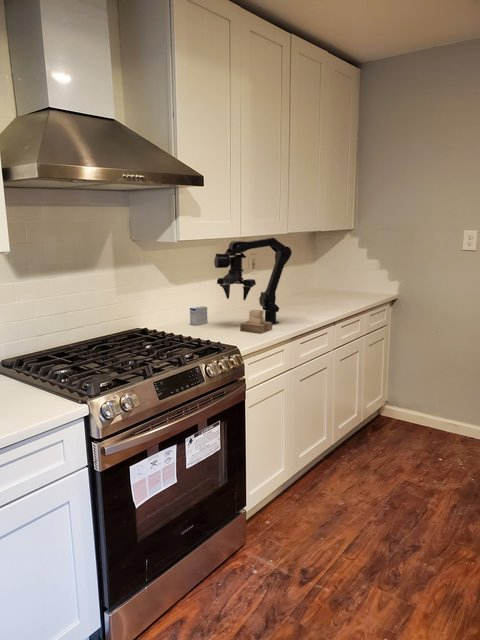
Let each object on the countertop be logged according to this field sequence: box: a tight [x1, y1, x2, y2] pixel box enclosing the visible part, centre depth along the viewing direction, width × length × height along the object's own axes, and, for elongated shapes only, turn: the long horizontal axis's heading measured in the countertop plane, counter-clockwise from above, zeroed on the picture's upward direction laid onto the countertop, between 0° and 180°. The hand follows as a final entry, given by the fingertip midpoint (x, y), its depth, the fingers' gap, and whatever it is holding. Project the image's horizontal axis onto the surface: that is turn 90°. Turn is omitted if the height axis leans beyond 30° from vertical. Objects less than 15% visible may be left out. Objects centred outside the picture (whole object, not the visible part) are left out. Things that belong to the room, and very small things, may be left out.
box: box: [189, 305, 209, 327], centre depth 255 cm, size 8×4×9 cm, turn 136°
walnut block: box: [239, 320, 273, 335], centre depth 241 cm, size 11×11×4 cm
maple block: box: [248, 308, 265, 324], centre depth 240 cm, size 5×5×6 cm
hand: (236, 299), depth 249 cm, fingers open, 9 cm apart
